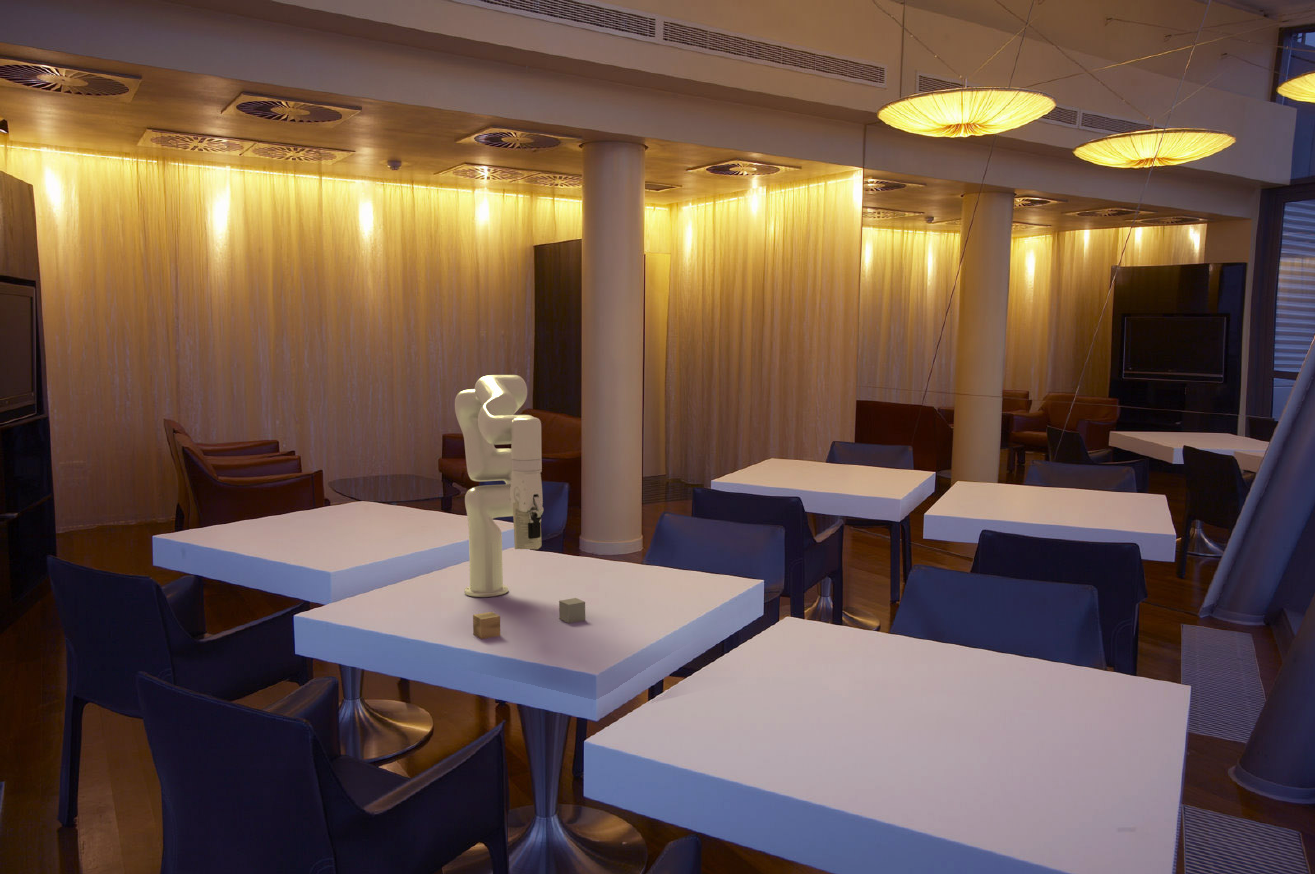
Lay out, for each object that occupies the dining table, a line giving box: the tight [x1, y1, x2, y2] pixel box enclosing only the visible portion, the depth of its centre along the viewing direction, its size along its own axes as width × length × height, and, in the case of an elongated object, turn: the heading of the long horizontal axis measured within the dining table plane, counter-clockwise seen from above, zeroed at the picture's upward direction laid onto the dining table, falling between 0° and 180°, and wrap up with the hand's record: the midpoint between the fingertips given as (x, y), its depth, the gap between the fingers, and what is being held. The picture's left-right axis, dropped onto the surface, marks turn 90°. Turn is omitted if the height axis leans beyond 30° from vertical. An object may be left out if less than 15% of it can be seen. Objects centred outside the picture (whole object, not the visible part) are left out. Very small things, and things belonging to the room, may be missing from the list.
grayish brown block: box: [558, 597, 586, 624], centre depth 236 cm, size 5×5×5 cm
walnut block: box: [472, 611, 501, 640], centre depth 223 cm, size 5×5×5 cm
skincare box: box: [512, 502, 543, 550], centre depth 228 cm, size 6×4×12 cm
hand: (527, 535), depth 229 cm, fingers closed on skincare box, 7 cm apart
